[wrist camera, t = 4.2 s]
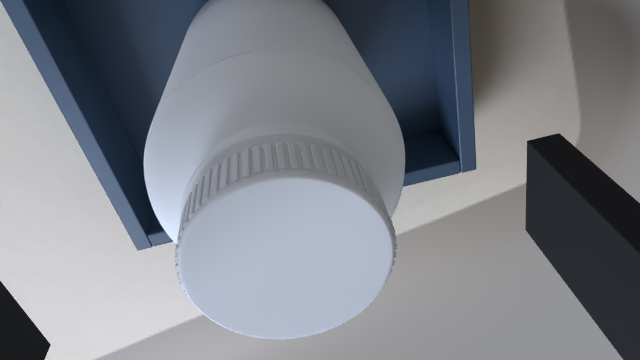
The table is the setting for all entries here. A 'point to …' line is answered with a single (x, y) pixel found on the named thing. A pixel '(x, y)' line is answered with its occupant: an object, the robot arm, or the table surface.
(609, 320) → the robot arm
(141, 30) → the bin
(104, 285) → the table surface
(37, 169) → the table surface
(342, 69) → the pill bottle
